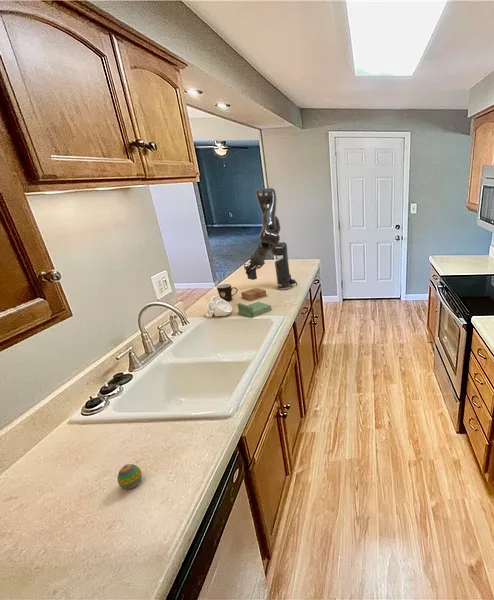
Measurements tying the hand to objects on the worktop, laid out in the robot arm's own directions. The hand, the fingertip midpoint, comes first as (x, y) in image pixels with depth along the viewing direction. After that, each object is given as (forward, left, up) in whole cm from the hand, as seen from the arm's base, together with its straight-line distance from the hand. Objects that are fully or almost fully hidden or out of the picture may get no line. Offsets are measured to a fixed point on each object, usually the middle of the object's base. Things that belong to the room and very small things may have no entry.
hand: (249, 273), depth 203 cm
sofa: (+8, +13, -20) cm, 25 cm away
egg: (+100, +88, -20) cm, 135 cm away
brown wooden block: (-8, -10, -20) cm, 24 cm away
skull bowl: (+23, 0, -20) cm, 31 cm away
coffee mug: (+6, -18, -20) cm, 28 cm away
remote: (0, +2, -3) cm, 4 cm away
